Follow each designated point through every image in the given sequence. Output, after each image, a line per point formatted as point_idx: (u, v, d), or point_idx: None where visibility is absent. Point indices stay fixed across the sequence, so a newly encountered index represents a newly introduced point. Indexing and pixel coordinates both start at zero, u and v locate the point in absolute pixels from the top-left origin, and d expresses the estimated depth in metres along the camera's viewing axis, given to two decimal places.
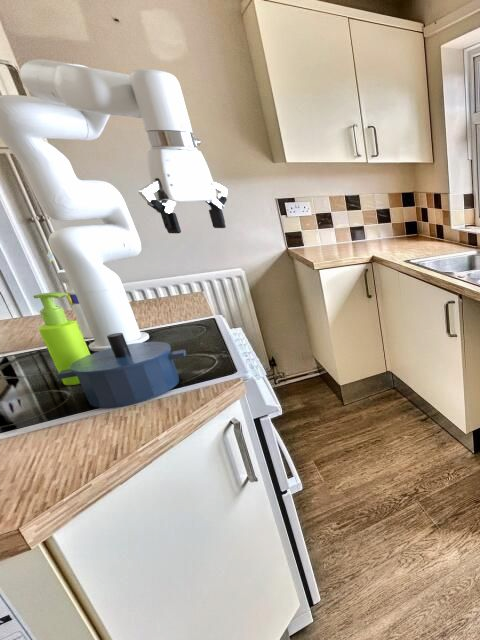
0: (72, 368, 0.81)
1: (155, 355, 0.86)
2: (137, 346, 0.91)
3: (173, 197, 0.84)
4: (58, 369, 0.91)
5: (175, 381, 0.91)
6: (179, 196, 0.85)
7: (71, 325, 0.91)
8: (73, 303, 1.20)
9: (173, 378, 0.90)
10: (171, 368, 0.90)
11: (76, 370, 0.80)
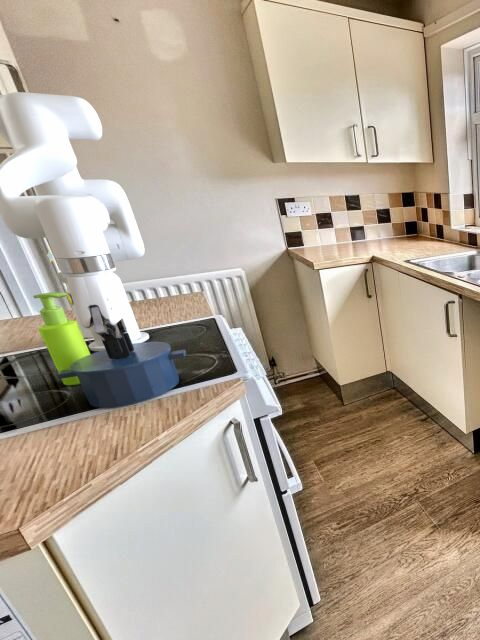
0: (72, 368, 0.81)
1: (155, 355, 0.86)
2: (137, 346, 0.91)
3: (114, 320, 0.81)
4: (58, 369, 0.91)
5: (175, 381, 0.91)
6: (116, 318, 0.82)
7: (71, 325, 0.91)
8: (73, 303, 1.20)
9: (173, 378, 0.90)
10: (171, 368, 0.90)
11: (76, 370, 0.80)
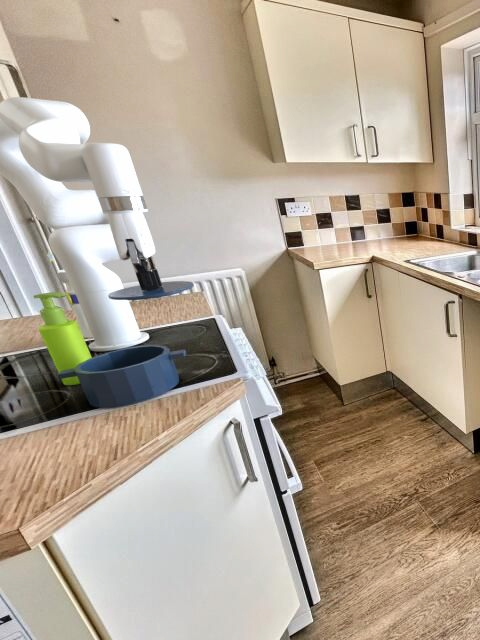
0: (110, 295, 0.92)
1: (181, 288, 0.98)
2: (164, 283, 1.03)
3: (147, 254, 0.93)
4: (58, 369, 0.91)
5: (175, 381, 0.91)
6: (148, 253, 0.93)
7: (71, 325, 0.91)
8: (73, 303, 1.20)
9: (173, 378, 0.90)
10: (171, 368, 0.90)
11: (114, 296, 0.92)
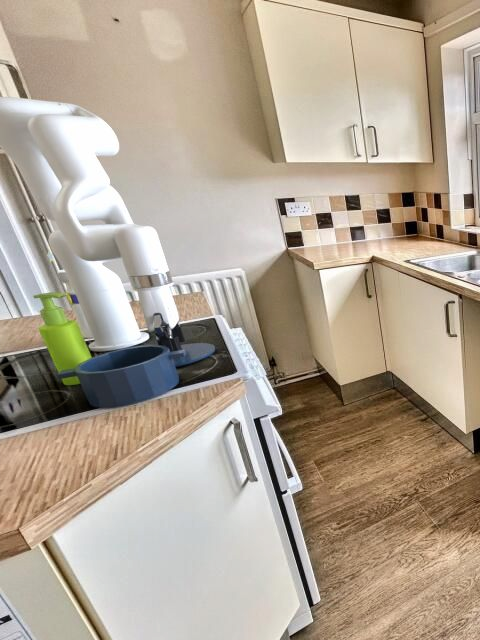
0: None
1: (204, 354, 1.04)
2: (187, 346, 1.10)
3: (172, 325, 0.99)
4: (58, 369, 0.91)
5: (175, 381, 0.91)
6: (173, 323, 1.00)
7: (71, 325, 0.91)
8: (73, 303, 1.20)
9: (173, 378, 0.90)
10: (171, 368, 0.90)
11: None
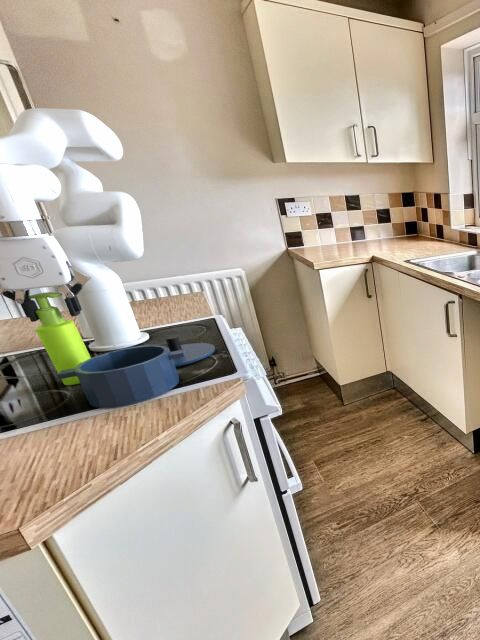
0: None
1: (204, 354, 1.04)
2: (187, 346, 1.10)
3: None
4: (57, 369, 0.91)
5: (175, 381, 0.91)
6: None
7: (68, 324, 0.90)
8: None
9: (173, 378, 0.90)
10: (171, 368, 0.90)
11: None
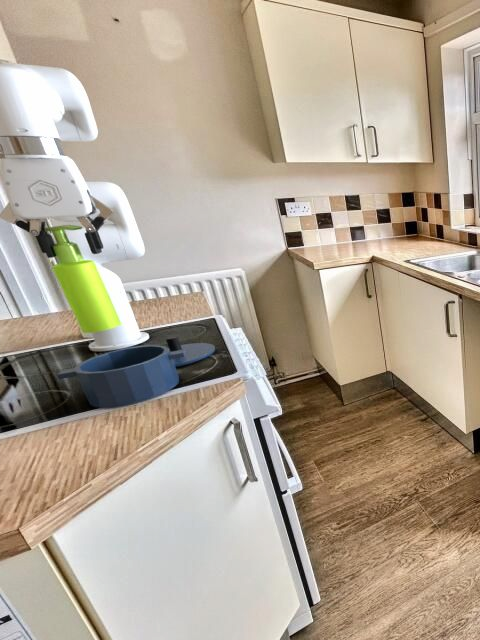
0: None
1: (204, 354, 1.04)
2: (187, 346, 1.10)
3: None
4: (76, 314, 0.81)
5: (175, 381, 0.91)
6: None
7: (88, 263, 0.80)
8: None
9: (173, 378, 0.90)
10: (171, 368, 0.90)
11: None
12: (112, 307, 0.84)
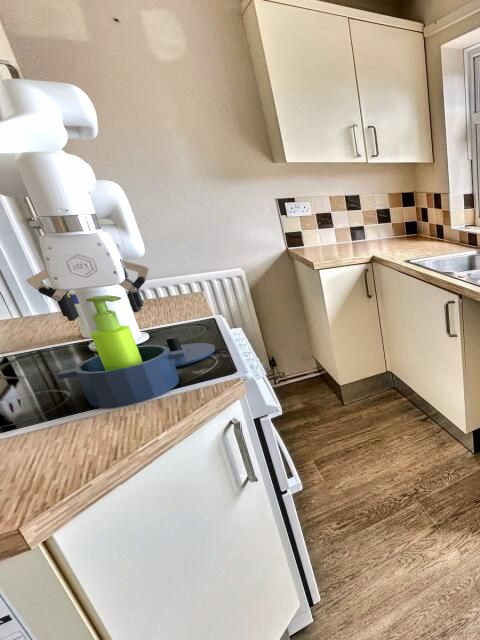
0: None
1: (204, 354, 1.04)
2: (187, 346, 1.10)
3: None
4: None
5: (175, 381, 0.91)
6: None
7: (124, 330, 0.84)
8: None
9: (173, 378, 0.90)
10: (171, 368, 0.90)
11: None
12: None
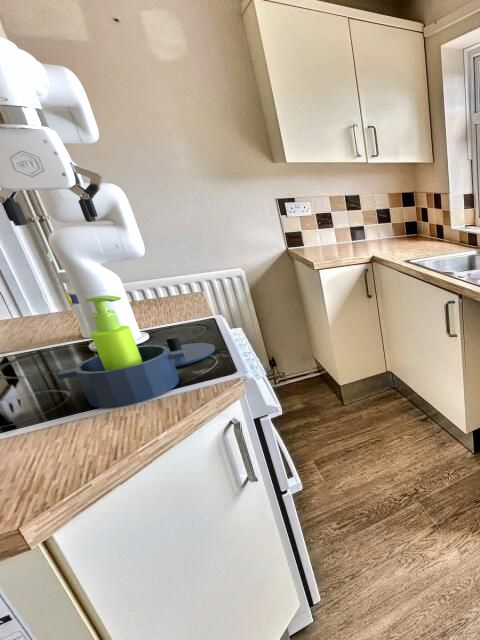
0: None
1: (204, 354, 1.04)
2: (187, 346, 1.10)
3: None
4: None
5: (175, 381, 0.91)
6: None
7: (124, 330, 0.84)
8: (73, 303, 1.20)
9: (173, 378, 0.90)
10: (171, 368, 0.90)
11: None
12: None
